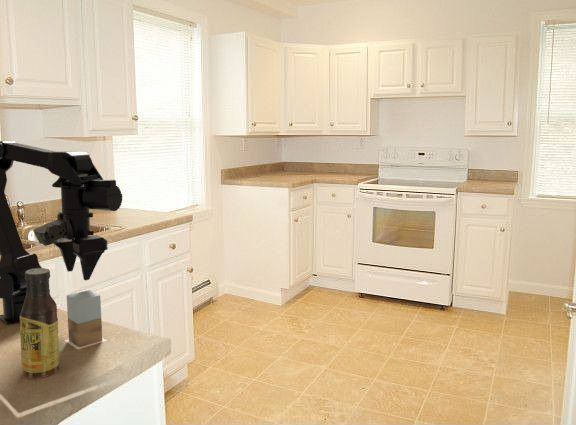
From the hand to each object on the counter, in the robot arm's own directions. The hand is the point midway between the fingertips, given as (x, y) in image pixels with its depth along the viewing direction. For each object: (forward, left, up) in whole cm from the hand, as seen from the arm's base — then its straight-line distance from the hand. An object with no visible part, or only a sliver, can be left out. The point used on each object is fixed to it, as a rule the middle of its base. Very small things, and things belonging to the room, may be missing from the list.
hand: (78, 275), depth 115 cm
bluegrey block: (+10, -3, -7) cm, 12 cm away
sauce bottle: (+18, -15, -12) cm, 27 cm away
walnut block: (+10, -3, -12) cm, 16 cm away
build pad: (+10, -3, -12) cm, 16 cm away
